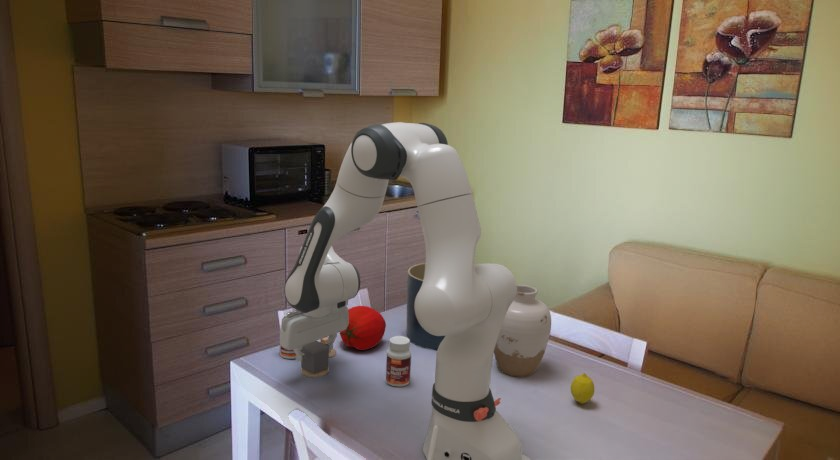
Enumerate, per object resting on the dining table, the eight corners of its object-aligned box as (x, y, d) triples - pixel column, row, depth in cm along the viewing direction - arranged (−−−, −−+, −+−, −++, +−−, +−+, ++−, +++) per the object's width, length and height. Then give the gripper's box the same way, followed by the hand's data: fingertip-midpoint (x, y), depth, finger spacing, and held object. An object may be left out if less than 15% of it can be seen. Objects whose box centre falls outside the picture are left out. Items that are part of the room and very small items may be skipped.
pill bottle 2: (389, 388, 150) (390, 346, 147) (383, 377, 156) (384, 336, 153) (412, 386, 152) (415, 344, 149) (406, 374, 158) (408, 334, 155)
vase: (483, 377, 158) (489, 294, 153) (491, 353, 173) (497, 276, 168) (545, 387, 155) (553, 302, 149) (547, 361, 170) (555, 283, 164)
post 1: (334, 371, 158) (334, 348, 156) (313, 380, 152) (313, 356, 151) (316, 362, 162) (316, 340, 160) (295, 371, 157) (295, 348, 155)
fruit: (564, 402, 148) (567, 371, 146) (578, 395, 151) (581, 365, 149) (583, 411, 143) (587, 380, 142) (597, 404, 147) (601, 374, 145)
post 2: (341, 353, 168) (341, 338, 167) (324, 360, 164) (324, 344, 162) (326, 347, 172) (326, 332, 171) (309, 353, 167) (310, 338, 166)
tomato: (371, 346, 181) (341, 362, 171) (353, 307, 182) (323, 321, 172) (400, 333, 174) (371, 349, 163) (381, 293, 175) (352, 306, 164)
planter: (440, 358, 168) (444, 289, 164) (389, 333, 184) (392, 269, 179) (493, 339, 183) (498, 275, 178) (441, 317, 199) (445, 258, 194)
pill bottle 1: (306, 356, 165) (306, 318, 163) (284, 361, 162) (284, 322, 159) (297, 348, 170) (297, 311, 168) (276, 352, 167) (276, 315, 164)
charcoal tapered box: (328, 367, 157) (328, 346, 156) (313, 373, 154) (313, 351, 152) (315, 361, 160) (316, 340, 159) (301, 367, 157) (301, 346, 155)
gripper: (290, 318, 143) (290, 371, 146) (352, 297, 159) (351, 347, 162) (273, 311, 147) (274, 363, 150) (336, 292, 162) (335, 340, 166)
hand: (315, 354), depth 156 cm, fingers open, 8 cm apart
